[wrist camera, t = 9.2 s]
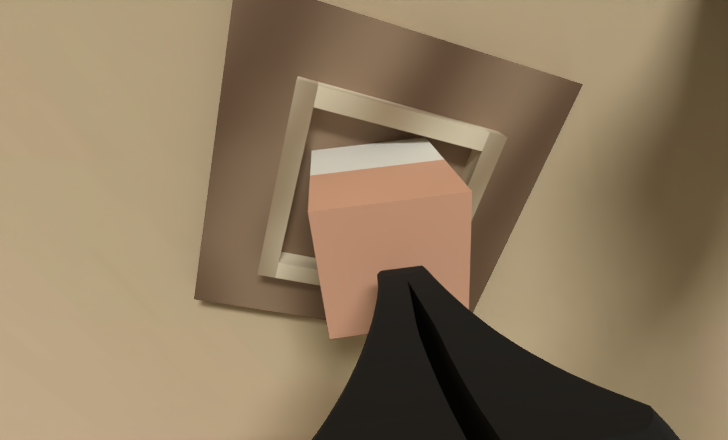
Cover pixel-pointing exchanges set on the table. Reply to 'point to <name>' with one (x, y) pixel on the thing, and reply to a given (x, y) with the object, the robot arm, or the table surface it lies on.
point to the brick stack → (385, 224)
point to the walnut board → (356, 138)
